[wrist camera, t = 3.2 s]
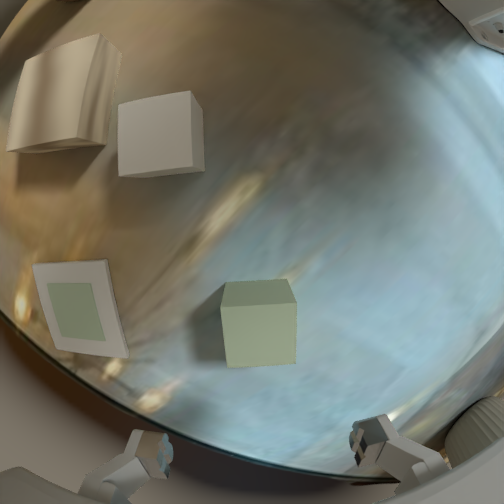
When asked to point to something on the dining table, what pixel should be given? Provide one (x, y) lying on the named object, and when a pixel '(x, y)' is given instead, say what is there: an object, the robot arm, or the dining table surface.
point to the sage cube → (259, 323)
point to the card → (81, 307)
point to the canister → (475, 430)
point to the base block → (65, 97)
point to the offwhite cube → (160, 136)
